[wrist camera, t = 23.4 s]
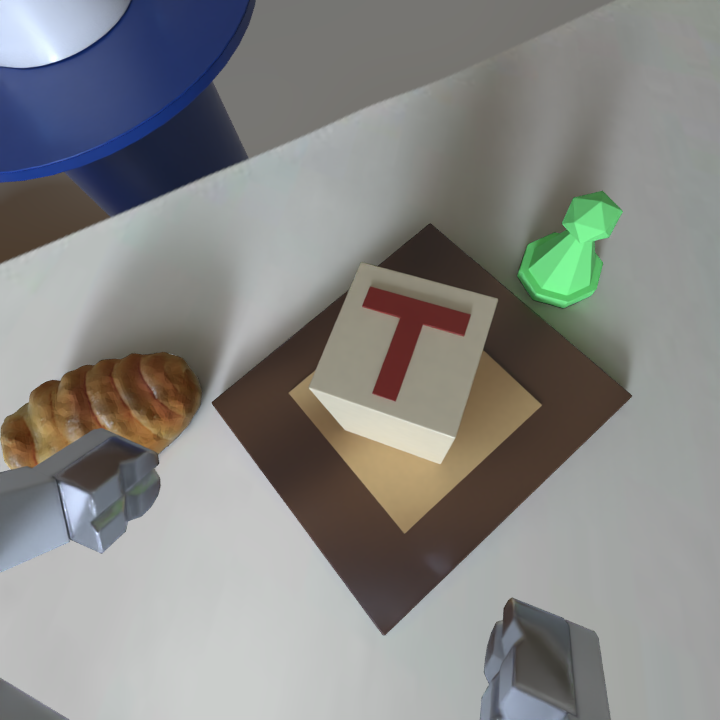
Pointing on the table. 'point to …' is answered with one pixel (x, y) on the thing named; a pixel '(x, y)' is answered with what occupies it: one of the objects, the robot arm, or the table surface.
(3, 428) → the pastry
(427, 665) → the table surface
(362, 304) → the letter block
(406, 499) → the brown board
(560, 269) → the game piece
